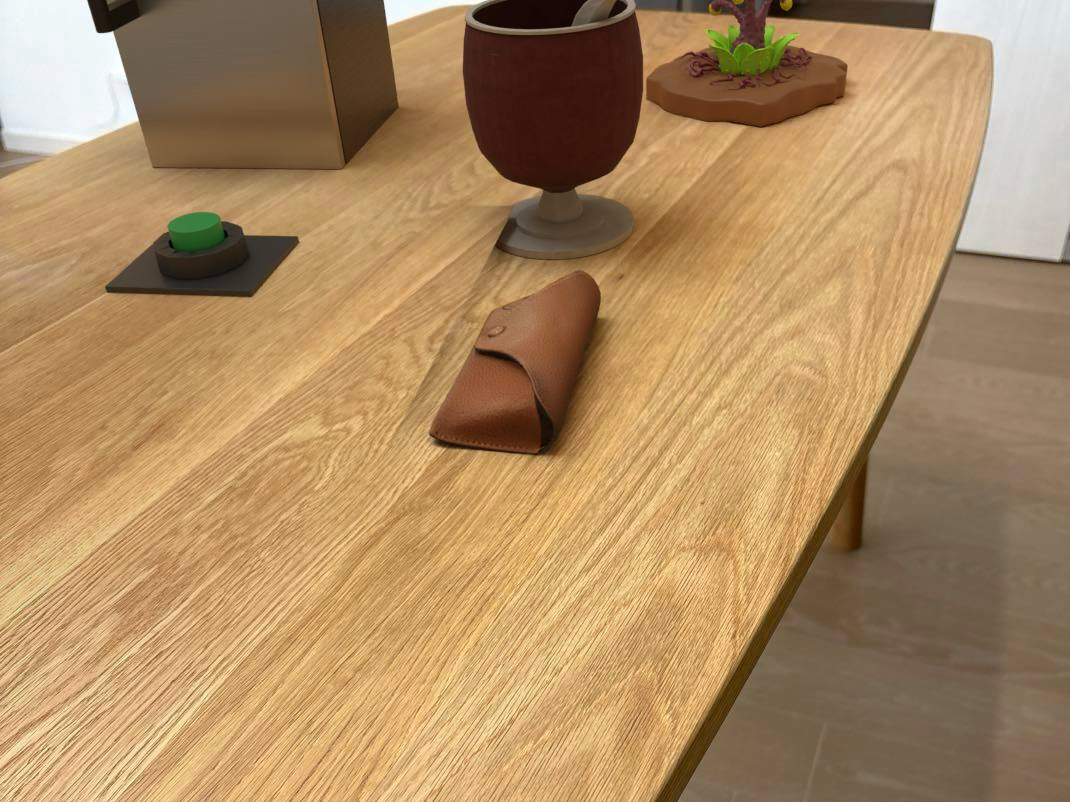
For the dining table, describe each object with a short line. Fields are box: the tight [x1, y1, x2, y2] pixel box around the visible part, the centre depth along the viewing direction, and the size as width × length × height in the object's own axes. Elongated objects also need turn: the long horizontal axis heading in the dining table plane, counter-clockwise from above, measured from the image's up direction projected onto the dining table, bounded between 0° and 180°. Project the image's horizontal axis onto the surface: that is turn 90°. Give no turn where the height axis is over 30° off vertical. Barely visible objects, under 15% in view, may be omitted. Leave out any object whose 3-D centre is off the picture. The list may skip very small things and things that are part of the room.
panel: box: [105, 220, 300, 298], centre depth 85 cm, size 12×10×4 cm
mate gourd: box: [462, 0, 644, 260], centre depth 84 cm, size 16×14×20 cm
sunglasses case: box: [428, 269, 602, 455], centre depth 70 cm, size 18×7×7 cm
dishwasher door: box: [86, 0, 346, 170], centre depth 97 cm, size 7×20×24 cm, turn 79°
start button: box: [167, 211, 225, 251], centre depth 83 cm, size 4×4×2 cm
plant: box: [645, 0, 849, 128], centre depth 112 cm, size 20×20×11 cm
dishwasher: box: [316, 0, 400, 166], centre depth 107 cm, size 18×20×24 cm
